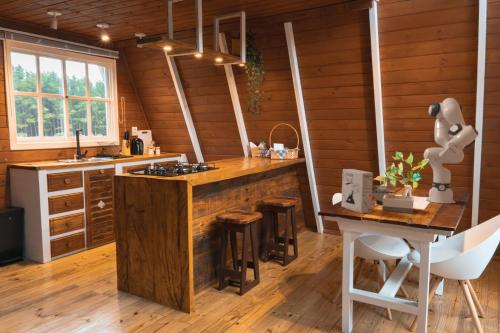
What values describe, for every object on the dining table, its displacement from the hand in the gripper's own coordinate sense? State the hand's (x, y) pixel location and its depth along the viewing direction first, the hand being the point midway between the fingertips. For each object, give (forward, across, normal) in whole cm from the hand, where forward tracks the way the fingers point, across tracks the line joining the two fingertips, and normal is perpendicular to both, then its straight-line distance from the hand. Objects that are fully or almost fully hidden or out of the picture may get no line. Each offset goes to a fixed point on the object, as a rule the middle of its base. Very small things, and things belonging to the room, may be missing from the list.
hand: (435, 162), depth 249 cm
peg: (+39, +7, +5) cm, 40 cm away
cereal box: (+54, +18, -10) cm, 58 cm away
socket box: (+37, +7, +8) cm, 38 cm away
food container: (+44, -8, +1) cm, 45 cm away
